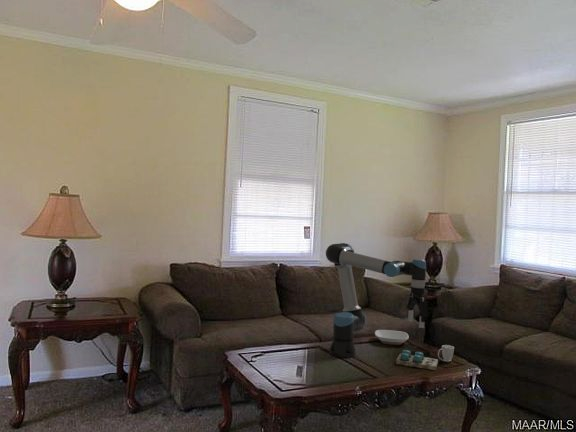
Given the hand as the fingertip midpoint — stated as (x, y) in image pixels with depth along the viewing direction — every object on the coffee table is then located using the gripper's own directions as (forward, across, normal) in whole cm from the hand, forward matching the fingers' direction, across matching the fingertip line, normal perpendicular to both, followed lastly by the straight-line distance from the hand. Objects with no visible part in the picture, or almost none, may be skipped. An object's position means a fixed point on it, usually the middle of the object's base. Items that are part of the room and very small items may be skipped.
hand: (415, 324), depth 265 cm
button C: (+19, -6, +1) cm, 20 cm away
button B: (+19, +4, +3) cm, 20 cm away
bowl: (+22, +40, -4) cm, 46 cm away
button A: (+19, -2, +6) cm, 20 cm away
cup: (+21, 0, -20) cm, 29 cm away
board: (+21, -3, -1) cm, 21 cm away
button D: (+19, 0, -3) cm, 19 cm away
